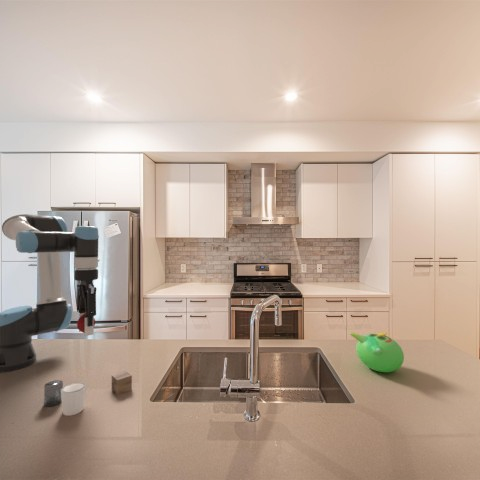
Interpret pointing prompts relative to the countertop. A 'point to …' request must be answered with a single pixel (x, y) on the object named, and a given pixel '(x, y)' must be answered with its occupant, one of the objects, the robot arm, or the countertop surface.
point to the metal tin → (52, 393)
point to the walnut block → (121, 382)
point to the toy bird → (379, 352)
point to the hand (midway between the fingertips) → (86, 332)
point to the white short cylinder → (73, 398)
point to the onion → (82, 323)
